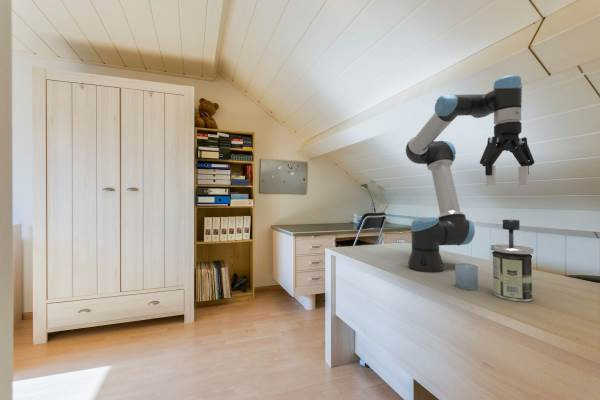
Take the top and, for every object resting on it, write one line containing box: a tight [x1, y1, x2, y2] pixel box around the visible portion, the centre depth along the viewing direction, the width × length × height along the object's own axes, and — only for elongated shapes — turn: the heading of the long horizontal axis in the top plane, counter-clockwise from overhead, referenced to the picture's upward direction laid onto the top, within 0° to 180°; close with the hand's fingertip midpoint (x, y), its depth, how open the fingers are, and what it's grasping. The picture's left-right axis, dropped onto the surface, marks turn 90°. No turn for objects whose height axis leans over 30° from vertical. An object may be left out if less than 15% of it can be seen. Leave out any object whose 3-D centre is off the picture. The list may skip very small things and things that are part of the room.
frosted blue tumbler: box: [454, 262, 479, 292], centre depth 97 cm, size 7×7×8 cm
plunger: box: [490, 219, 534, 255], centre depth 88 cm, size 11×11×10 cm
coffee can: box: [491, 250, 533, 303], centre depth 88 cm, size 10×10×14 cm
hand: (507, 185), depth 92 cm, fingers open, 13 cm apart
